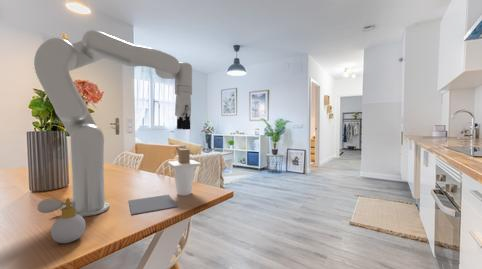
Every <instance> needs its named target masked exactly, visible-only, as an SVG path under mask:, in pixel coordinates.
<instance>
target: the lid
mask: <svg viewBox="0 0 482 269" xmlns="http://www.w3.org/2000/svg"><path fill="white" fill-rule="evenodd" d="M177 150H178V153H177V154H178V159H177V160H174V161H171V160H170V161H167V165H168V166H170V168H172V169H173V170H174V169H176V168H186V167H195V168H197V167H202V163H201V162H200V161H196V160H194V159H190V157H191V156H190V155H191V154H190V153H191V152H190V150H191V149H188V148H180V149H177Z"/></svg>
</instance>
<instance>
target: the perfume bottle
mask: <svg viewBox="0 0 482 269" xmlns="http://www.w3.org/2000/svg"><path fill="white" fill-rule="evenodd" d="M71 201H72V200H71V199H70V198H69V197H67V199H66V201H65V202H63V201H61V200H60V199H56V198H46V199H42V200H41V201H39V203H38V204H37V211H38V212H39V213H42V214H50V213H53V212H56V211H57V210H59V208H61V207H62V206H63V205H66V207H65V208H63V209H62V210H61V215H60V217H59V218H58V219H56V220H55V221H54V223H53V224H52V225H51V229H50V236H51V238H52V239H53V240H54V241H55V242H57V243H59V244H69V243H72V242H74V241H77V240H78V239H79V238H81V237H82V235H83V234H84V233H85V230H86V220H85V219H84V218H85V217H82V216H80V215H78V214H76V213H75V207H74V206H70V205H71V204H72V202H71Z"/></svg>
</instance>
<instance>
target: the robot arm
mask: <svg viewBox="0 0 482 269" xmlns="http://www.w3.org/2000/svg"><path fill="white" fill-rule="evenodd" d="M102 59H106V60H109V61H113V62H114V63H118V64H121V65H123V66H126V67H135V68H136V67H146V68H152V69H154V71H155V74H156V75H157V76H158V77H159V78H161V79H163V80H164V79H165V80H168V79H169V80H170V79H171V80H173V79H174V95H175V105H174V116H175V117H176V129H177V130H191V114H192V102H191V101H192V100H191V99H192V98H191V97H192V95H193V66H192V65H191V63H189V62H183V61H181V62H180V61H179V60H178V58H176V57H175V56H173V55H171V54H170V53H167V52H164V51H161V50H160V49H157V48H152V47H147V46H142V45H135V44H133V43H130V42H127V41H125V40H123V39H120V38H118V37H115V36H112V35H110V34H107V33H105V32H102V31H100V30H95V29H90V30H87V31H86V32H85V33H84V34H83V35H82V39H81V40H80V41H77V42H74V43H71V42H69V41H68V40H66V39H64V38H61V37H52V38H49V39H47V40H45V41H43V43H42V44H40V45H39V47H38V48H37V50H36V52H35V56H34V59H33V65H34V66H33V68H34V70H35V74H36V76H37V79H38V80H39V83H40V85H41V87H42V89H43V90H44V93H45V94H46V96H47V99H49V101H50V103H51V105H52V107H53V111H54V112H55V115H56V116H57V117H58V118H59V120H60V121H61V123H62V126H64V128H65V130H66V132H67V134H68V135H69V137H70V150H71V157H70V158H71V174H72V175H71V177H72V178H71V180H72V181H71V182H72V199H71V200H70V201H71V202H72V204H71V205H70V206H74V207H75V213H76V214H78V215H80V216H82V217H83V218H85V217H90V216H96V215H100V214H102V213H105V211H108V210H109V209H110V203H109V202H106V201H105V175H104V174H105V168H104V167H105V166H104V165H105V164H104V154H105V152H104V149H105V148H104V147H105V146H104V145H105V138H104V134H103V131H102V130H101V128H100V127H98V126H97V124H96V122H95V120H94V119H93V117H92V114H91V113H90V111H89V107H88V104H87V103H86V101H85V100H84V99H83V97H82V96H81V94H80V91H79V90H78V88H77V87H76V84H75V83H74V81H73V79H72V77H71V74H70V71H74V70H77V69H80V68H83V67H85V66H87V65H91V64H93V63H96V62H99V61H101V60H102ZM65 207H66V205H63V206H62V207H61V208H59V209H60V211H62V209H63V208H65ZM59 209H58V210H59Z"/></svg>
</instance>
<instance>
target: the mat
mask: <svg viewBox="0 0 482 269" xmlns="http://www.w3.org/2000/svg"><path fill="white" fill-rule="evenodd" d="M128 205H129V209H130V213H131V214H130V215H131V216H134V215H140V214H147V213H152V212H157V211H163V210H168V209H174V208H178V207H179V205H178V204H177V203H176V201H175V200H174V199H173V198H172V196H170V194H163V195H158V196H151V197H149V196H148V197H144V198H137V199H131V200H130V199H129V200H128Z"/></svg>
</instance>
